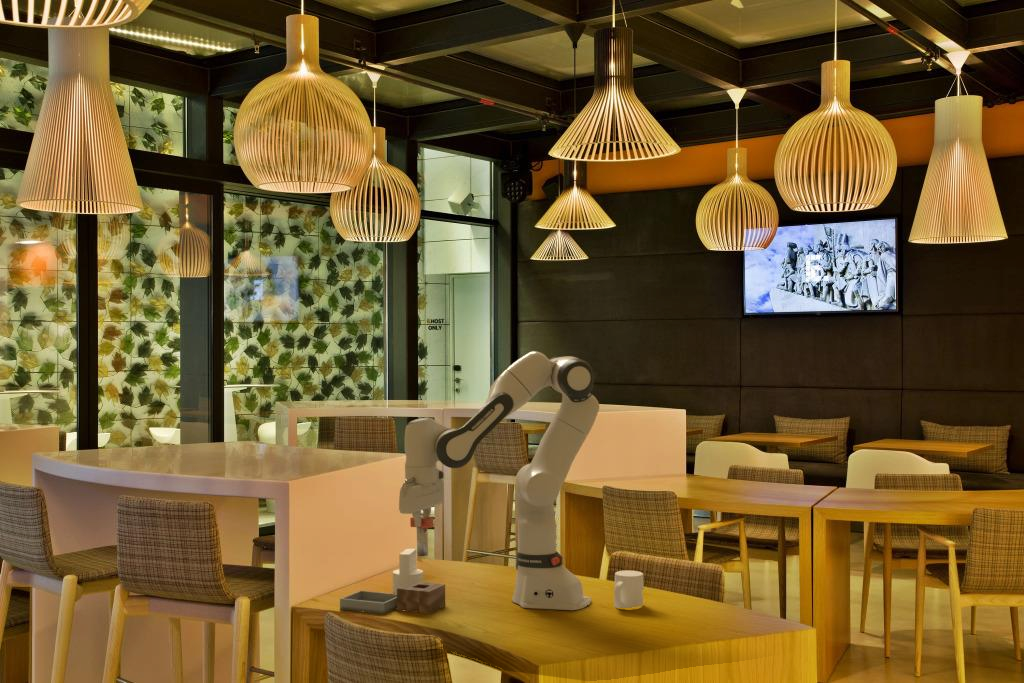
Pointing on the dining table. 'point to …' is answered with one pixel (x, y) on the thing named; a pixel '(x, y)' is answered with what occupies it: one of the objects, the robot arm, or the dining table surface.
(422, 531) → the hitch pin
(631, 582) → the mug
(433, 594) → the wooden square hole block
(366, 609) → the tray
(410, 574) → the base with upright slab
